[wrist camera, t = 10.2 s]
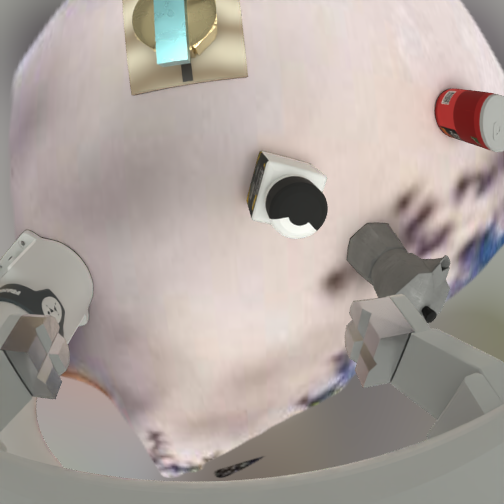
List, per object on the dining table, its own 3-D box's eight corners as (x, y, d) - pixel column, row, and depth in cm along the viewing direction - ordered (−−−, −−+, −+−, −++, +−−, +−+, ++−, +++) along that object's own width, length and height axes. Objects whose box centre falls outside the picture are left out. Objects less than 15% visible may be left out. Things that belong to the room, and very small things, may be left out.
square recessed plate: (246, 77, 35) (252, 72, 29) (134, 95, 34) (119, 94, 28) (235, -20, 28) (239, -39, 22) (125, -2, 27) (110, -16, 22)
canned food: (433, 136, 40) (481, 152, 30) (432, 85, 36) (482, 90, 26) (467, 137, 40) (514, 153, 30) (466, 90, 36) (515, 98, 27)
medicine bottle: (259, 149, 39) (275, 170, 29) (311, 163, 41) (344, 188, 30) (245, 201, 42) (256, 239, 32) (295, 212, 44) (321, 252, 33)
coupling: (214, -16, 26) (213, -49, 17) (219, 67, 31) (220, 55, 22) (145, -6, 26) (123, -35, 17) (149, 76, 31) (126, 69, 22)
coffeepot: (370, 199, 44) (441, 258, 28) (412, 223, 46) (482, 282, 30) (321, 284, 50) (362, 367, 34) (365, 299, 52) (411, 374, 36)
